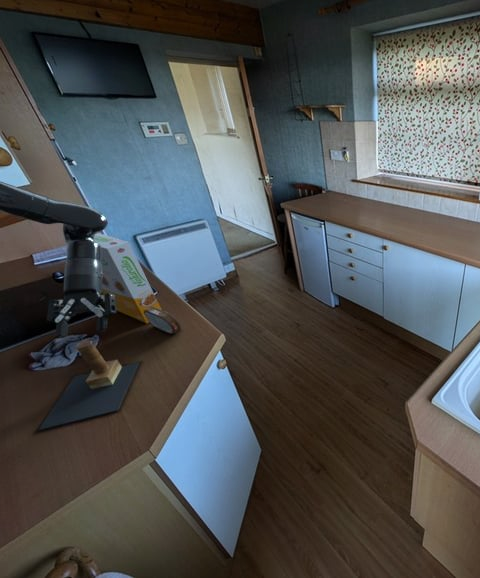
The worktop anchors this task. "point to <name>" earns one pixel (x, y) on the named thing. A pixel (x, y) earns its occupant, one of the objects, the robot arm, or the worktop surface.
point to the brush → (98, 366)
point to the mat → (89, 399)
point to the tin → (162, 320)
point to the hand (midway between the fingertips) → (82, 334)
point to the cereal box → (125, 278)
